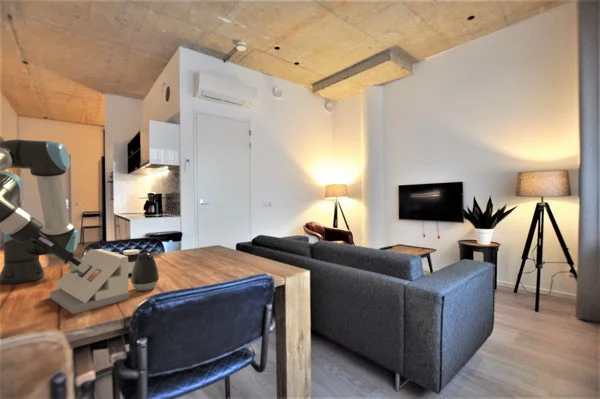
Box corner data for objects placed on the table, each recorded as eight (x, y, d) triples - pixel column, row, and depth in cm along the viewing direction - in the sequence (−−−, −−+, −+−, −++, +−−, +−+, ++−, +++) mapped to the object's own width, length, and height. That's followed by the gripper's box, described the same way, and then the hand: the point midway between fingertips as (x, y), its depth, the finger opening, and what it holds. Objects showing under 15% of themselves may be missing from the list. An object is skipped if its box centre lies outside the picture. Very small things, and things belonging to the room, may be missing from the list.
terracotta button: (87, 283, 104) (87, 270, 104) (101, 280, 107) (101, 268, 107) (91, 285, 101) (91, 272, 101) (106, 282, 105) (106, 269, 105)
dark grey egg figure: (140, 295, 114) (139, 256, 113) (125, 290, 119) (125, 253, 119) (164, 288, 122) (164, 251, 122) (150, 283, 128) (149, 249, 128)
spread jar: (144, 274, 143) (144, 250, 143) (120, 279, 134) (120, 254, 134) (131, 270, 150) (131, 247, 150) (107, 275, 140) (107, 251, 140)
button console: (49, 297, 110) (49, 254, 110) (101, 286, 124) (101, 247, 124) (72, 314, 96) (72, 263, 95) (128, 299, 109) (128, 255, 109)
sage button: (66, 272, 113) (66, 261, 113) (80, 270, 116) (80, 259, 116) (70, 274, 110) (70, 262, 110) (84, 272, 114) (84, 260, 114)
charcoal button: (74, 276, 108) (74, 264, 108) (88, 274, 111) (88, 262, 111) (78, 278, 105) (78, 266, 105) (93, 275, 109) (92, 263, 109)
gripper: (3, 233, 89) (70, 275, 103) (13, 237, 82) (84, 282, 96) (26, 215, 94) (87, 257, 107) (37, 217, 86) (102, 263, 100)
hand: (86, 269), depth 102 cm, fingers closed
